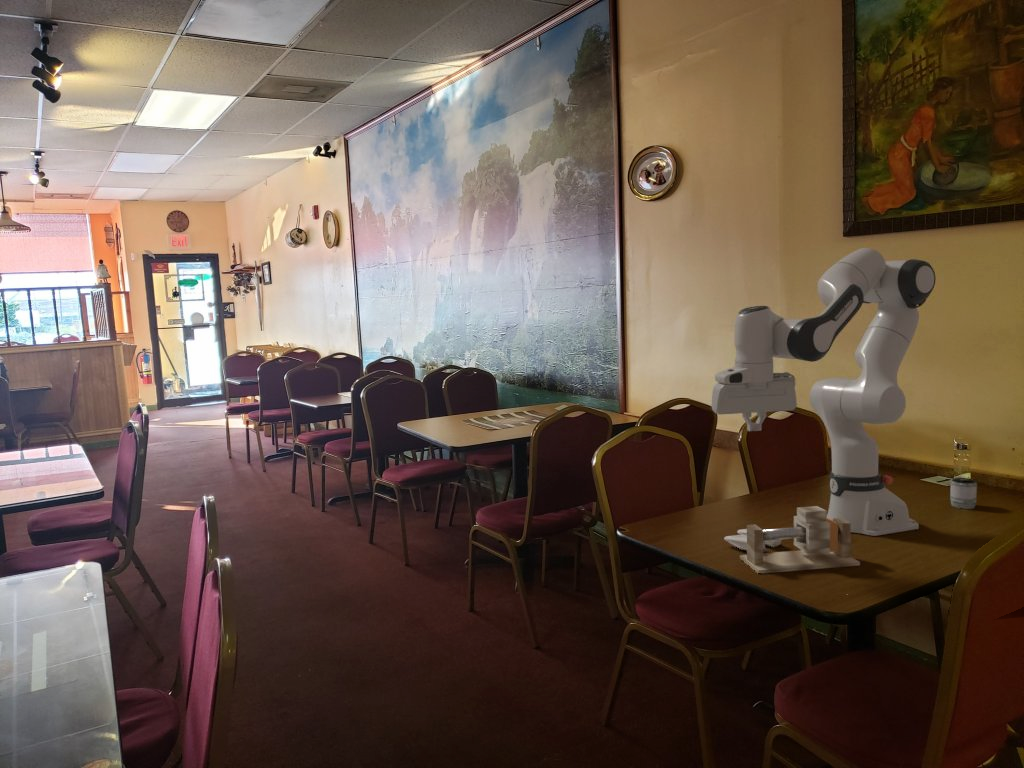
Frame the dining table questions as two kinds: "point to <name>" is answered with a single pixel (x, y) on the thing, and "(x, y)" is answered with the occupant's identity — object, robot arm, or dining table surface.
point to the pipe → (786, 533)
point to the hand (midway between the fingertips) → (754, 430)
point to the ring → (833, 535)
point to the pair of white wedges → (741, 540)
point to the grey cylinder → (963, 493)
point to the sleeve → (813, 530)
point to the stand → (797, 553)
